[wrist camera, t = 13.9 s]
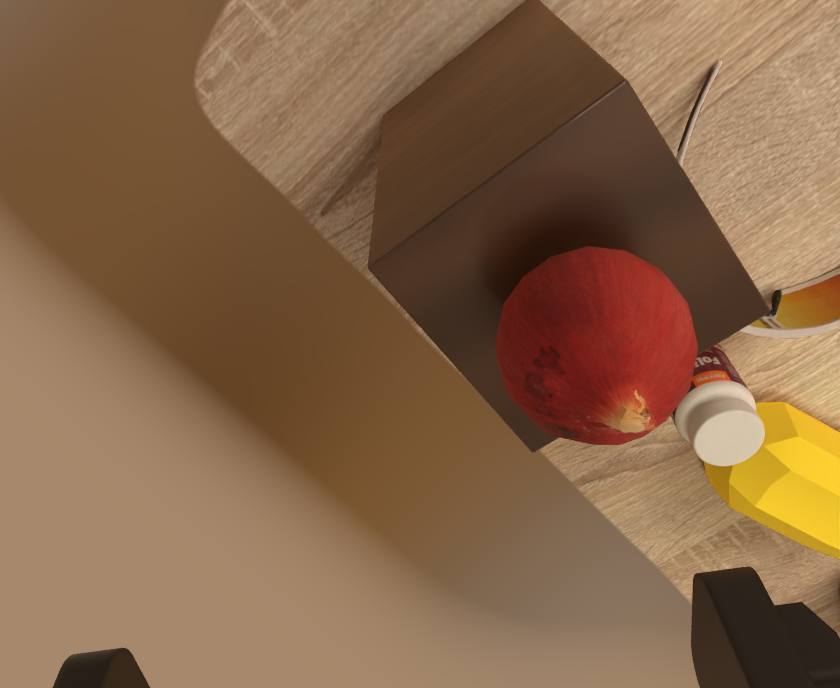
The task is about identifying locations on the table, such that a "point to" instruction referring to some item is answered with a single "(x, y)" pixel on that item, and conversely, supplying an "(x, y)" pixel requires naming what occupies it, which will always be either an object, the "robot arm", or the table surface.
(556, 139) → the stand
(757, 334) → the sunglasses
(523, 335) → the onion
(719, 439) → the pill bottle
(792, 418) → the low-poly banana
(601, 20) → the table surface
